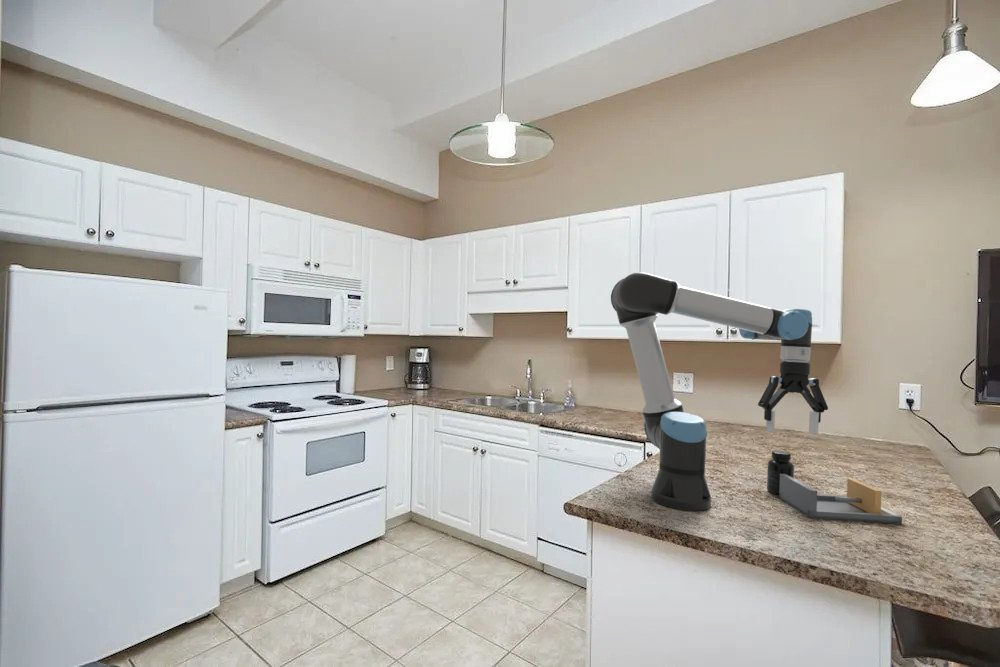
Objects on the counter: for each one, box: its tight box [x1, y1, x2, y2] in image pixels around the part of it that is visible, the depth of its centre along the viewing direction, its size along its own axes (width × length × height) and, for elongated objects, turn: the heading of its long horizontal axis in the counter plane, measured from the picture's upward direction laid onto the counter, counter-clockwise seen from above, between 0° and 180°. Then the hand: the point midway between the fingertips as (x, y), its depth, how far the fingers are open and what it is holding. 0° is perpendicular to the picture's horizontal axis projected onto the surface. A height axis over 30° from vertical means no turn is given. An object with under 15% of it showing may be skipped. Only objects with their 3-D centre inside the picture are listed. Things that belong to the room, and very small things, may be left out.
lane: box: [778, 474, 903, 525], centre depth 125 cm, size 22×15×7 cm
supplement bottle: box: [766, 450, 795, 496], centre depth 139 cm, size 7×7×12 cm
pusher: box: [835, 478, 882, 514], centre depth 125 cm, size 8×11×6 cm
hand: (791, 432), depth 139 cm, fingers open, 13 cm apart
